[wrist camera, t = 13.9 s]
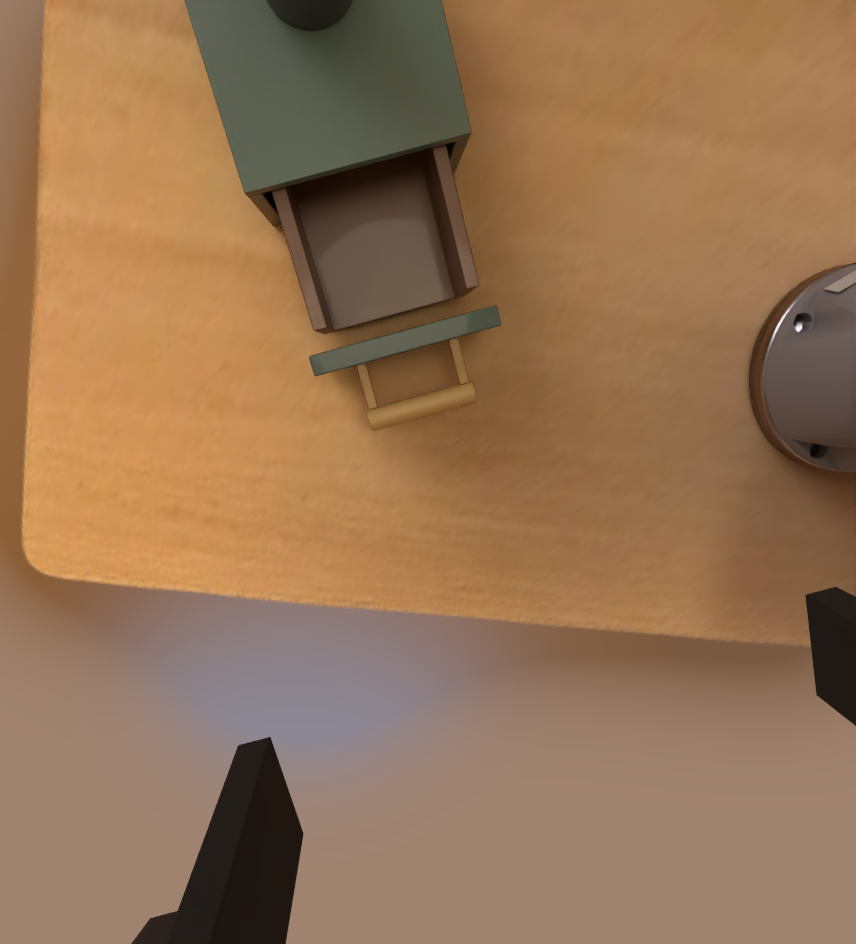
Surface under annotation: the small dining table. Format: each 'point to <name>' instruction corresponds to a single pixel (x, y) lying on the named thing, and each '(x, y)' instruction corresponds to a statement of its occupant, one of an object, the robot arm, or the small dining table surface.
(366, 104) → the cabinet
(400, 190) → the drawer
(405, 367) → the small dining table surface
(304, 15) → the pepper mill
